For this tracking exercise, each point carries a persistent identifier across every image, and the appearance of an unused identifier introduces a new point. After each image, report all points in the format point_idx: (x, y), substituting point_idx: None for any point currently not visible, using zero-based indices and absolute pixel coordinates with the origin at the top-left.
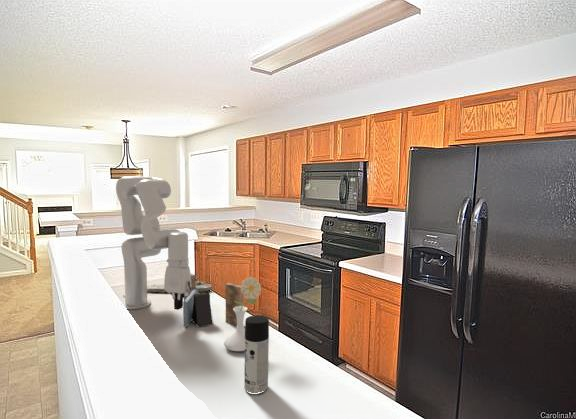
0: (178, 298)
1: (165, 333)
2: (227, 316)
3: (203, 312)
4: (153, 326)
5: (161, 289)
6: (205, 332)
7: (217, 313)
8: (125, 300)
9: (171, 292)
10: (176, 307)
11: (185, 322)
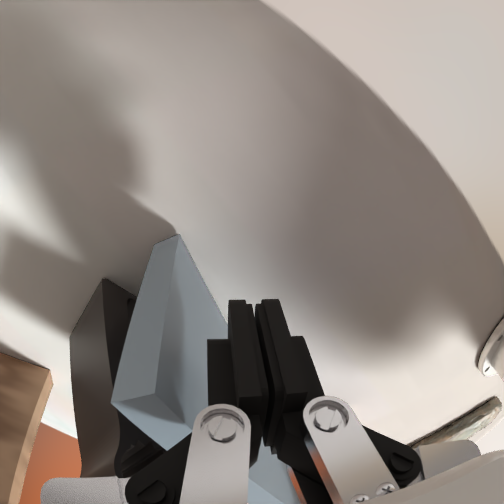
0: (226, 428)
1: (247, 105)
2: (30, 388)
3: (89, 376)
4: (395, 180)
5: (463, 428)
6: (20, 234)
7: None
8: None
9: (405, 473)
10: (245, 313)
11: (161, 255)
